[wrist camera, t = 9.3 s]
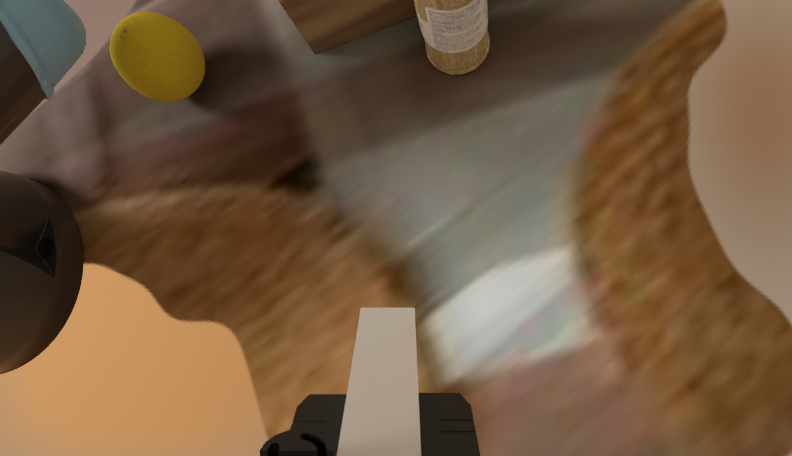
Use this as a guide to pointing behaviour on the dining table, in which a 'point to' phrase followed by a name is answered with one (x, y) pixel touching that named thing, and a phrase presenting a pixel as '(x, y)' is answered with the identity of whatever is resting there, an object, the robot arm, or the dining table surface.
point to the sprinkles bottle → (454, 33)
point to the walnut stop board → (344, 18)
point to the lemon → (157, 56)
